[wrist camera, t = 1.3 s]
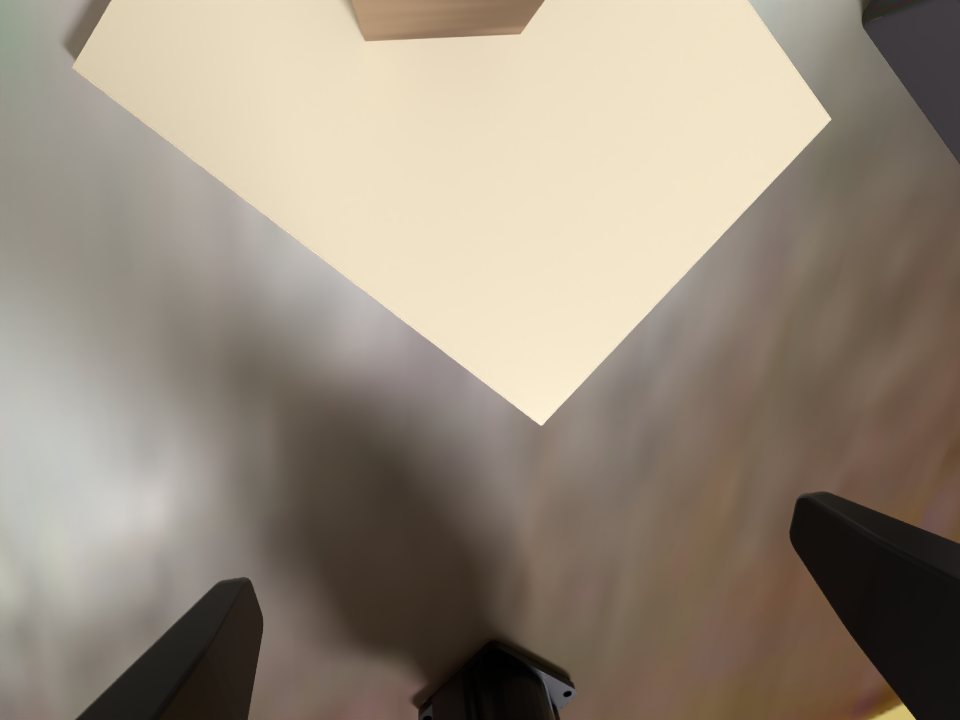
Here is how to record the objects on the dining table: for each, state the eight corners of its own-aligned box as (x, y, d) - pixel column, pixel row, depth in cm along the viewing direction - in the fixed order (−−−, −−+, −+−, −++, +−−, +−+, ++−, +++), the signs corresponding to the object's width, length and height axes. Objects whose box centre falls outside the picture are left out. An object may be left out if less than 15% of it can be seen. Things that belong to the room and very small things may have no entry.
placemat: (818, 121, 19) (831, 119, 18) (538, 419, 22) (541, 426, 21) (401, -462, 12) (401, -492, 12) (84, 72, 15) (71, 67, 15)
